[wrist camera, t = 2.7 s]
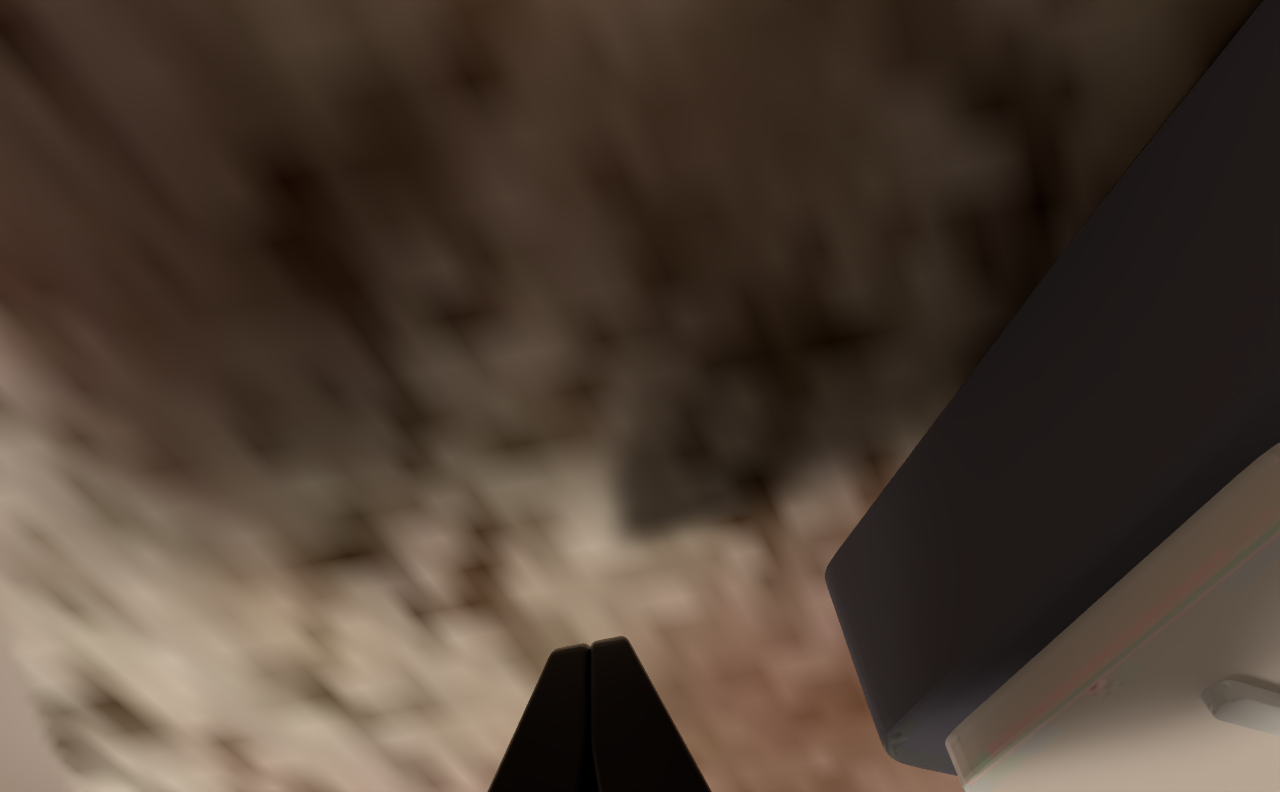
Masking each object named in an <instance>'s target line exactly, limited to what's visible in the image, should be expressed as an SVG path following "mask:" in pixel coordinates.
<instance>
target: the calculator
mask: <svg viewBox="0 0 1280 792" xmlns="http://www.w3.org/2000/svg"><path fill="white" fill-rule="evenodd" d="M825 580H826V584H827V587H828V590H829V593H830V596H831V599H832V601H833V604H834V607H835V610H836V613H837V616H838V619H839V622H840V625H841V628H842V631H843V634H844V637H845V639H846V642H847V645H848V648H849V651H850V654H851V657H852V660H853V663H854V666H855V669H856V672H857V675H858V677H859V680H860V683H861V686H862V689H863V692H864V695H865V698H866V701H867V704H868V706H869V709H870V712H871V715H872V718H873V720H874V723H875V726H876V729H877V732H878V734H879V737H880V739H881V742H882V745H883V747H884V749H885V751H886V752H887V754H888V755H889V756H891V757H892V758H893V759H894V760H896V761H898V762H901V763H903V764H907V765H911V766H915V767H919V768H923V769H928V770H932V771H937V772H942V773H946V774H951V775H956V776H958V777H959V780H960V782H961V784H962V787H963V789H964V790H965V792H1280V0H1263V1H1262V2H1261V4H1260V5H1259V6H1258V7H1257V9H1256V10H1255V11H1254V12H1253V14H1252V15H1251V16H1250V17H1249V19H1248V20H1247V21H1246V22H1245V24H1244V25H1243V26H1242V27H1241V29H1240V30H1239V31H1238V32H1237V34H1236V35H1235V36H1234V37H1233V39H1232V40H1231V41H1230V42H1229V44H1228V45H1227V46H1226V47H1225V49H1224V50H1223V51H1222V52H1221V54H1220V55H1219V56H1218V57H1217V59H1216V60H1215V61H1214V62H1213V64H1212V65H1211V66H1210V67H1209V68H1208V70H1207V71H1206V72H1205V73H1204V75H1203V76H1202V77H1201V78H1200V80H1199V81H1198V82H1197V83H1196V85H1195V86H1194V87H1193V88H1192V90H1191V91H1190V92H1189V93H1188V95H1187V96H1186V97H1185V98H1184V100H1183V101H1182V102H1181V103H1180V105H1179V106H1178V107H1177V108H1176V110H1175V111H1174V112H1173V113H1172V115H1171V116H1170V117H1169V118H1168V120H1167V121H1166V122H1165V123H1164V125H1163V126H1162V127H1161V128H1160V130H1159V131H1158V132H1157V133H1156V135H1155V136H1154V137H1153V138H1152V140H1151V141H1150V142H1149V143H1148V145H1147V146H1146V147H1145V148H1144V150H1143V151H1142V152H1141V153H1140V155H1139V156H1138V157H1137V158H1136V160H1135V161H1134V162H1133V163H1132V165H1131V166H1130V167H1129V168H1128V170H1127V171H1126V172H1125V173H1124V175H1123V176H1122V177H1121V178H1120V180H1119V181H1118V182H1117V183H1116V185H1115V186H1114V187H1113V188H1112V190H1111V191H1110V192H1109V194H1108V195H1107V196H1106V197H1105V199H1104V200H1103V201H1102V202H1101V204H1100V205H1099V206H1098V208H1097V209H1096V210H1095V211H1094V213H1093V214H1092V215H1091V217H1090V218H1089V219H1088V220H1087V222H1086V223H1085V224H1084V225H1083V227H1082V228H1081V229H1080V231H1079V232H1078V233H1077V234H1076V236H1075V237H1074V238H1073V240H1072V241H1071V242H1070V243H1069V245H1068V246H1067V247H1066V249H1065V250H1064V251H1063V253H1062V254H1061V255H1060V257H1059V258H1058V259H1057V260H1056V262H1055V263H1054V264H1053V266H1052V267H1051V268H1050V270H1049V271H1048V272H1047V274H1046V275H1045V276H1044V278H1043V279H1042V280H1041V282H1040V283H1039V284H1038V286H1037V287H1036V288H1035V290H1034V291H1033V292H1032V294H1031V295H1030V296H1029V298H1028V299H1027V300H1026V302H1025V303H1024V304H1023V306H1022V307H1021V308H1020V309H1019V311H1018V312H1017V313H1016V315H1015V316H1014V317H1013V319H1012V320H1011V321H1010V323H1009V324H1008V325H1007V327H1006V328H1005V329H1004V331H1003V332H1002V333H1001V335H1000V336H999V337H998V339H997V340H996V341H995V343H994V344H993V345H992V347H991V348H990V349H989V351H988V352H987V353H986V355H985V356H984V357H983V359H982V360H981V361H980V363H979V364H978V365H977V366H976V368H975V369H974V370H973V372H972V373H971V374H970V376H969V377H968V378H967V380H966V381H965V382H964V384H963V385H962V386H961V388H960V389H959V390H958V392H957V393H956V394H955V396H954V397H953V398H952V400H951V401H950V402H949V404H948V405H947V406H946V408H945V409H944V410H943V412H942V413H941V414H940V415H939V417H938V418H937V419H936V421H935V422H934V423H933V425H932V426H931V427H930V429H929V430H928V431H927V433H926V434H925V435H924V437H923V438H922V439H921V441H920V442H919V443H918V445H917V446H916V447H915V449H914V450H913V451H912V453H911V454H910V455H909V457H908V458H907V459H906V461H905V462H904V463H903V465H902V466H901V467H900V469H899V470H898V471H897V473H896V474H895V475H894V477H893V478H892V479H891V481H890V482H889V483H888V485H887V486H886V487H885V489H884V490H883V491H882V493H881V494H880V495H879V497H878V498H877V499H876V501H875V502H874V503H873V505H872V506H871V507H870V509H869V510H868V511H867V513H866V514H865V515H864V517H863V518H862V519H861V521H860V522H859V523H858V525H857V526H856V527H855V529H854V530H853V531H852V533H851V534H850V535H849V537H848V538H847V539H846V541H845V542H844V543H843V545H842V546H841V547H840V549H839V550H838V551H837V553H836V554H835V555H834V557H833V558H832V560H831V561H830V563H829V565H828V566H827V569H826V572H825Z"/></svg>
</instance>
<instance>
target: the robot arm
mask: <svg viewBox="0 0 1280 792" xmlns="http://www.w3.org/2000/svg"><path fill="white" fill-rule="evenodd" d="M488 792H711V790H710V788H709V786H708V784H707V782H706V781H705V779H704V777H703V775H702V773H701V772H700V770H699V768H698V766H697V764H696V762H695V761H694V759H693V757H692V755H691V753H690V751H689V750H688V748H687V746H686V744H685V742H684V740H683V739H682V737H681V735H680V733H679V731H678V729H677V728H676V726H675V724H674V722H673V720H672V719H671V717H670V715H669V713H668V711H667V709H666V708H665V706H664V704H663V702H662V700H661V698H660V697H659V695H658V693H657V691H656V689H655V687H654V686H653V684H652V682H651V680H650V678H649V676H648V675H647V673H646V671H645V669H644V667H643V666H642V664H641V662H640V660H639V658H638V656H637V655H636V653H635V651H634V649H633V647H632V645H631V644H630V642H629V640H628V639H627V638H626V637H624V636H619V637H614V638H609V639H603V640H598V641H595V642H593V643H592V645H591V647H590V646H589V645H587V644H578V645H572V646H567V647H562V648H558V649H555V650H554V651H553V652H552V653H551V655H550V657H549V658H548V661H547V663H546V665H545V667H544V669H543V671H542V674H541V676H540V678H539V680H538V682H537V685H536V687H535V689H534V691H533V693H532V696H531V698H530V700H529V702H528V704H527V707H526V709H525V711H524V713H523V715H522V717H521V720H520V722H519V724H518V726H517V728H516V731H515V733H514V735H513V737H512V739H511V742H510V744H509V746H508V748H507V750H506V752H505V755H504V757H503V759H502V761H501V763H500V766H499V768H498V770H497V772H496V774H495V777H494V779H493V781H492V783H491V785H490V788H489V790H488Z"/></svg>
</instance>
